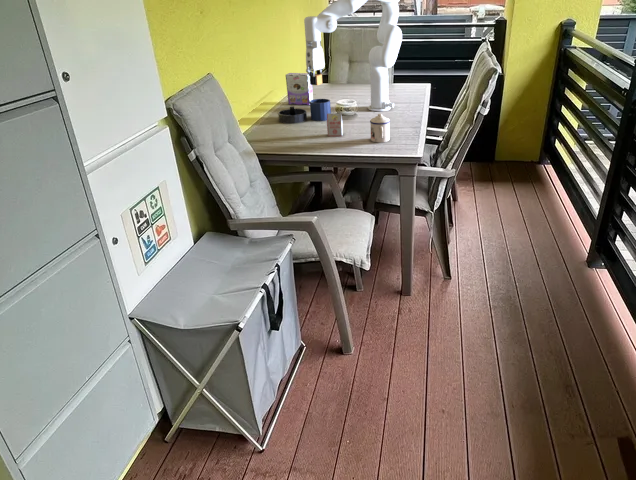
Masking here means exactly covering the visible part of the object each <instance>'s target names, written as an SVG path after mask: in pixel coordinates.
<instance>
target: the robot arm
mask: <svg viewBox="0 0 636 480" xmlns="http://www.w3.org/2000/svg"><path fill="white" fill-rule="evenodd" d="M368 1H369V0H336V1H334V2H333V3H331V4H329V5H328V6H326V8H324V9H323V10H322V11H321V12H320V13H318V14H317V16H316V15H315V16H314V15H313V16H312V15H311V16H306V17H304V19H303V23H304V24H303V25H304V36H305V38H304V39H305V66H306V69H305V73H308V74H309V76H310V84H311V85H312V86H317V85H316V77H315V74H322V75H323V71H324V68H325V65H326V63H325V56H324V49H323V47H322V37H321V36H322V35H321V34H322V33H328V34H329V33H330V34H331V33H333V32H335V31H336V29H337V26H338V22H337V20H339V19H341V18H343V17H345V16H350V15H352V14H354V13H355V12H356V11H358V9H360V8H361V7H362V6H363V5H365V3H367V2H368ZM400 1H401V0H377V2H380V4H381V9H382V12H381V16H380V19H379V20H380V21H379V24H378V27H377V31H376V39H377V41H378V42H379V43H380V44H382V45H375V46H373V47H371V49H370V50H369V53H368V64H369V71H370V75H369V76H370V105H368V106H367V109H368V111H372V112H387V111H390V110H391V108H394V107H395V103H394V102H391V100H390V99H389V70H388V69H390V68H392V67H393V66H394V65H395V63H396V60H397V58H398V54H399V53H400V48H401V45H402V41H403V33H402V32H403V31H402V29H401V28H400V27H399V26H398V25H397V24H398V19H399V15H400V7H399V2H400Z"/></svg>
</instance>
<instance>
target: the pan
mask: <svg viewBox="0 0 636 480" xmlns="http://www.w3.org/2000/svg"><path fill="white" fill-rule="evenodd" d="M294 110H295V114H299V115H289V114H290V108H287V109H282V110H279V111H278V112H277V114H278V115H277V116H278V122H279V123H283V124H300V123H304V122H306V121H308V114H307V113H308V112H307V110H306V109H303V108H294Z"/></svg>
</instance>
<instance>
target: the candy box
mask: <svg viewBox="0 0 636 480" xmlns="http://www.w3.org/2000/svg"><path fill="white" fill-rule="evenodd" d="M285 83H286V84H285V85H286V92H287V93H286V94H287V103H288V105H294V106H295V105H296V106H297V105H298V106H310V101H311V100H314V93H313V85H310V76H309V74H308V73H307V72H289V73H285Z"/></svg>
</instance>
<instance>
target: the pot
mask: <svg viewBox="0 0 636 480" xmlns="http://www.w3.org/2000/svg"><path fill="white" fill-rule="evenodd" d="M309 108H310V109H309V110H310V119H311V120H312V121H314V122H325V121H326V122H327V114H332V109H331V100H330V99H328V98H313V100H311V101H310V105H309Z"/></svg>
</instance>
